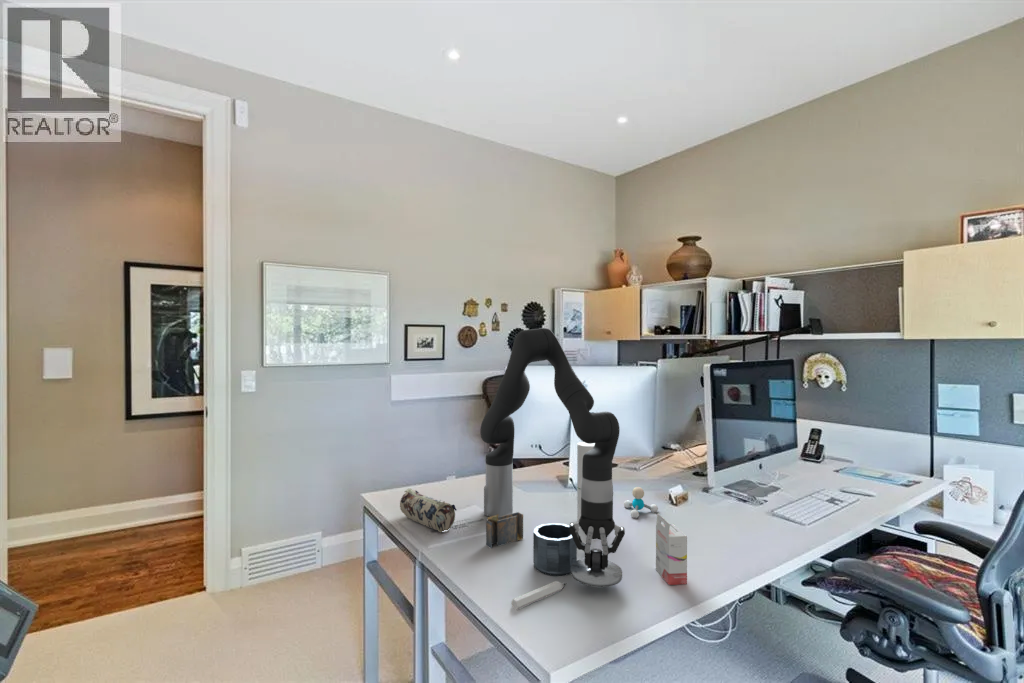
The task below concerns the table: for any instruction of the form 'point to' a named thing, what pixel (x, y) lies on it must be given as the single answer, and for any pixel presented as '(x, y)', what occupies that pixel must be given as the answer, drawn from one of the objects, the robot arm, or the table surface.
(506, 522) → the weathered rectangular holder
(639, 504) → the molecule model
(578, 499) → the cylindrical container
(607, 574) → the lid
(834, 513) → the table surface
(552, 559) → the pot
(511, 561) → the table surface
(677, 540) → the ink cartridge box
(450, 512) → the pencil case
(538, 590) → the marker
